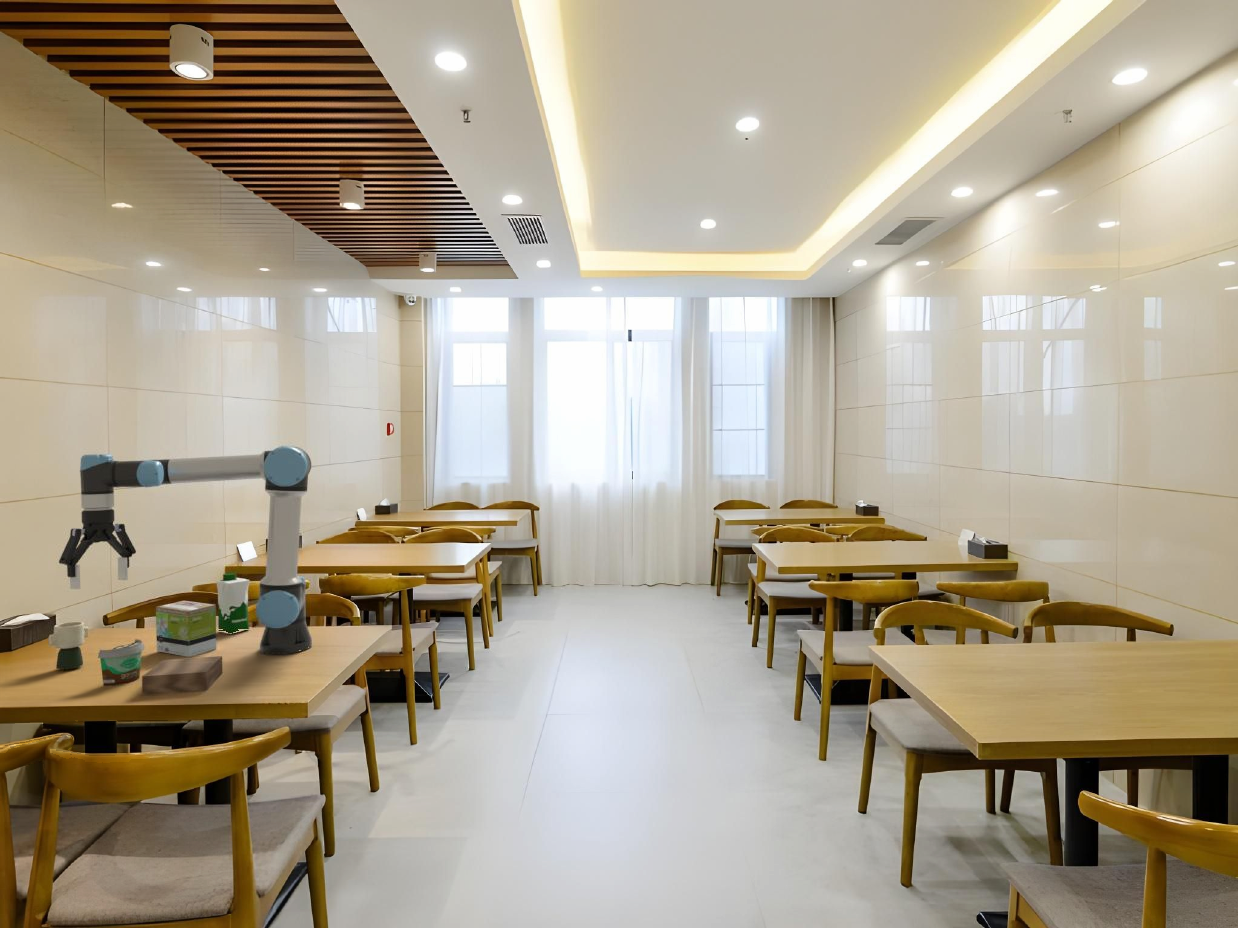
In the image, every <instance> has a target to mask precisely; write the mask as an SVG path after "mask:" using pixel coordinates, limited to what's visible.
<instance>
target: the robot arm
mask: <svg viewBox="0 0 1238 928" xmlns="http://www.w3.org/2000/svg"><path fill="white" fill-rule="evenodd" d="M79 469H80V470H79V474H80V498H81V499H80V501H81V506H80V507H81V509H83V510H82V511H81V524H82V528H74V527H73V528H71V529H70V533H69V534H70V535H69V538H68V540H67V543H66V545H65V546H64V550H63V551H62V554H61V556H60V558H59V560H58V563H59V564H60V565H65V566H66V569H67V570H66V572H67V577H68V578H69V581H70V582H69V584H70V587H69V588H70V590H80V589H81V566H80V564H78V563H79V561H81V558H83V556H84V554H85V553H86V552H87V550H88V549H89V548H90V546H92V545H93V544H94V543H95V544H97V543H101V542H103V543H104V542H107V544H109V546H110V547H111V548H112V549H113V550H114V551H115V552H116V553H117V555H119V557H117V573H118V574H117V578H118V579H117V581H128V579H129V578H128V576H129V575H128V573H129V572H128V568H129V567H130V558H131V557H132V556H133V555H135V554H136V553H137V551H136V548H135V546H134V545H133V542H132V540H131V539H130V537H129V534H128V533H127V532H126V526H125V524H124V523H115V524H114V522H115V510H114V507H115V491H114V489H115V488H152V487H159V486H161V485H171V484H185V483H186V484H188V483H189V484H190V483H205V482H221V481H222V482H223V481H224V482H225V481H237V480H238V481H239V480H254V479H255V480H256V479H257V480H258V479H262V480H264V481H265V482H264V484H265V486H264V491H265V492H266V493H267V494H268V495H269V496H270V497H269V509H268V510H269V513H268V514H269V515H268V531H267V548H266V565H265V566H266V567H265V576H264V577H263V578H262V579H260V581H259V588H258V590H259V591H258V600H257V602H256V606H255V613H256V614H255V615H256V617H257V619H258V621H259V622H260V623H261V624H262V625H264V626H265V628H264V631H263V633H262V637H261V639H260V642H259V652H260V653H261V652H262V654H264V653H267V654H266V655H284V654H283V653H289V654H293V653H292V652H295V653H298V652H297V651H299V650H303V651H305V650H304V649H306V650H308V649H309V648H308V647H310V646H311V645H313V642H312V641H313V640H312V636H311V633H310V630H309V628H308V625H307V621H306V587H307V585H306V584H307V583H306V578H305V577H304V576H300V575H298V567H299V562H298V561H299V546H300V545H299V544H300V531H301V511H302V497H303V496H304V495H306V493H308V486H309V485H308V484H309V481H308V480H309V474H310V473H311V469H312V460H311V458H310V455H309V454H308V453H307V452H306V451H305V450H304V449H303V448H300V447H297V446H292V445H281V446H278V447H276V448H274V449H273V450H264V451H262V453H261V454H243V455H226V456H225V455H223V456H220V455H219V456H202V457H188V458H183V457H182V458H169V459H168V458H167V459H166V458H165V459H147V460H124V461H123V460H122V461H121V460H120V461H119V460H114V456H113V455H112V454H108V453H107V454H100V453H99V454H97V453H96V454H84V455H82V456H81V458H80V468H79ZM114 532H115V534H116V535H114V534H113V533H114ZM82 536H83V537H82ZM116 536H117V537H116ZM117 538H118V539H119V540H118V539H117ZM311 647H312V646H311ZM311 647H310V648H311ZM307 648H308V649H307ZM299 652H300V651H299Z"/></svg>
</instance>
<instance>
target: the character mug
mask: <svg viewBox="0 0 1238 928" xmlns="http://www.w3.org/2000/svg"><path fill="white" fill-rule="evenodd" d="M89 630H90V629H89V627H88V625H87V626H85V622H83V621H70V622H62V623H58V624H55V625H54V626H53V633H52V634H49V635H48V645H49V647H53V646H54V647H55V648H56V649H58V653H57V660H56V667H55V668H56V670H63V669H64V670H63V671H66V670H69V669H72V670H73V669H77V668H81V667H83V665H84V660H83V659H84V658H83V656H82V655H83V653H82V649H81V647H80V646H83V645H85V639H87V638H89V634H90V633H89ZM65 669H66V670H65Z"/></svg>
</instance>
